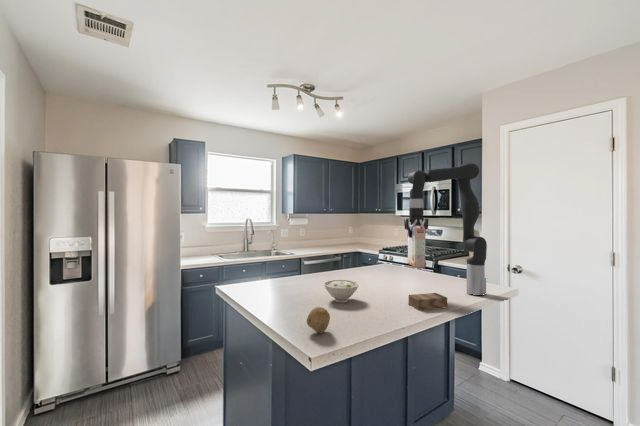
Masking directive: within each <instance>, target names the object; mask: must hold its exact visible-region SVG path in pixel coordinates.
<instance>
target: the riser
mask: <svg viewBox="0 0 640 426" xmlns="http://www.w3.org/2000/svg"><path fill="white" fill-rule="evenodd" d="M408 306H410V307H411V308H413V307H414V309H415V310H417V311H425V310H424V309H428V310H435V309H434V308H439V309H444V308H443V307H447V308H448V297H447V296H444V295H442V294H441V293H437V292H431V293H430V292H429V293H428V292H427V293H417V294H416V293H415V294H409V295H408Z"/></svg>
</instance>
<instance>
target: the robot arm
mask: <svg viewBox="0 0 640 426" xmlns="http://www.w3.org/2000/svg"><path fill="white" fill-rule="evenodd" d="M479 173H480V168H479V166H478V165H477V164H476V163H471V162H470V163H469V162H468V163H463V164H460V165H458V166H456V167H455V166H454V167H444V168H433V169H432V168H431V169H427V170H415V171H412V172H410V173H409V174H408V175H407V182H408V183H410V184H411V185H412V186H411V188H410V190H409V205H408V207H409V209H408V211H409V213H408V215H409V216H408V217H409V218H404V219H403V221H404V223H403V224H404V230H407V237H408V236H409V237H410V238H412V229H413V228H415V227H416V226H417V227H418V228H422V229H425V231H426V230H428V229H429V218H428V217H427V218H424V215H425V214H424V213H425V212H424V207H425V206H424V205H425V203H424V189H425V183H437V182H444V181H449V180H454V179H456V181H457V185H458V191H459V192H458V193H459V198H460V199H459V201H460V209H461V217H462V227H463V229H462V231H463V232H462V233H463V234H462V239H463V240H462V242H463V248H464V249H465V250H466V251H467V252H471V253H473V254H472V256H471V257H469V258H466V294H467V293H469V294H474V295H483V294H485V293H486V294H487V278H486V276H485V274H486V272H485V271H486V269H485V266H486V265H485V264H486V259H487V249H488V245H487V240H486V239H485V238H484V237H482V236H477V235H475V226H476V223H477V221H478V220H479V216H480V203H479V199H478V197H477V196H476V195H475V193H474V191H473V189H472V185H471V180H473V179H476V178H477V177H478V176H479ZM469 294H468V295H469Z"/></svg>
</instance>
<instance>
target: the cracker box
mask: <svg viewBox="0 0 640 426" xmlns="http://www.w3.org/2000/svg"><path fill="white" fill-rule="evenodd" d="M407 264H408V265H410V266H411V267H414V268H415V269H426V230H425V229H422V228H420V227H413V229H412V238H410V237H409V236H408V235H407Z"/></svg>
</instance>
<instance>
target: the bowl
mask: <svg viewBox="0 0 640 426" xmlns="http://www.w3.org/2000/svg"><path fill="white" fill-rule="evenodd" d="M322 283H323V286H324V288H325V290H326V291H327V292H328V294H329V295H330V296H331V297H332V298H334V301H335V302H337V303H346V302H348V301H349V299H350V298H351V297H352V296H353V295H354V294H355V292H356V291H357V290H358V288H359V285H360V283H359V282H357V281H354V280H349V279H331V280H326V281H325V282H322Z"/></svg>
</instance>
